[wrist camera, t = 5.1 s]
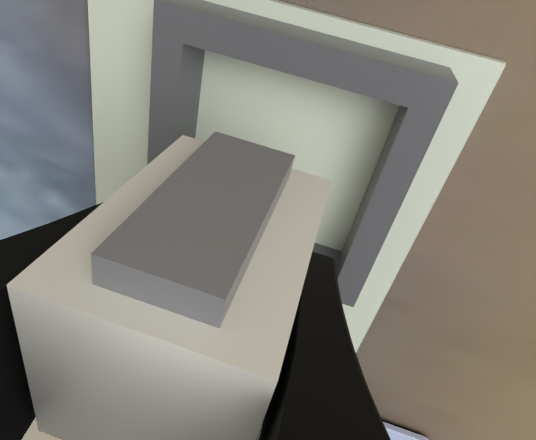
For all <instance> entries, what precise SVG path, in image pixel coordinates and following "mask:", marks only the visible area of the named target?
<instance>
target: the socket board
mask: <svg viewBox="0 0 536 440" xmlns="http://www.w3.org/2000/svg"><path fill="white" fill-rule="evenodd" d="M88 16H89V40H90V64H91V89H92V113H93V137H94V161H95V186H96V205H97V204H100V203H102V202H104V201H106V200H107V199H108V198H109V197H110V196H112V195H113V194H114V193H115V192H116V191H117V190H119V189H120V188H121V187H122V186H123V185H124V184H126V183H127V182H128V181H129V180H130V179H132V178H133V177H134V176H135V175H136V174H137V173H139V172H140V171H141V170H142V169H143V168H144V167H146V166H147V165H148V164H149V163H150V162H152V161H153V160H154V159H155V158H156V157H157V156H159V155H160V154H161V153H162V152H163V151H164V150H166V149H167V148H168V147H169V146H170V145H172V144H173V143H174V142H175V141H176V140H177V139H179V138H180V137H181V136H182V135H185V136H188V137H191V138H195V139H198V140H201V141H204V142H205V141H206V140H207V139H208V138H209V137H210V136H211V135H212V134H213V133H214V132H215V131H216V132H220V133H223V134H226V135H230V136H233V137H236V138H239V139H243V140H246V141H249V142H253V143H256V144H259V145H263V146H266V147H269V148H272V149H276V150H279V151H282V152H286V153H289V154H292V155H295V158H294V161H293V165H292V168H293V169H296V170H299V171H302V172H306V173H309V174H312V175H315V176H319V177H322V178H325V179H329V180H331V183H330V187H329V190H328V194H327V198H326V202H325V205H324V209H323V213H322V217H321V221H320V224H319V228H318V232H317V236H316V239H315V243H314V247H313V252H316V253H319V254H322V255H325V256H328V257H331V258H333V259H334V261H335V262H336V271H337V279H338V286H339V291H340V296H341V301H342V306H343V310H344V314H345V318H346V322H347V325H348V329H349V333H350V336H351V340H352V343H353V346H354V349H355V352H357V350H358V348H359V346H360V344H361V342H362V340H363V338H364V336H365V335H366V333H367V331H368V329H369V327H370V325H371V323H372V321H373V319H374V317H375V315H376V313H377V311H378V310H379V308H380V306H381V304H382V302H383V300H384V298H385V296H386V294H387V292H388V290H389V288H390V287H391V285H392V283H393V281H394V279H395V277H396V275H397V273H398V271H399V269H400V267H401V265H402V264H403V262H404V260H405V258H406V256H407V254H408V252H409V250H410V248H411V246H412V244H413V242H414V240H415V239H416V237H417V235H418V233H419V231H420V229H421V227H422V225H423V223H424V221H425V219H426V217H427V216H428V214H429V212H430V210H431V208H432V206H433V204H434V202H435V200H436V198H437V196H438V194H439V192H440V191H441V189H442V187H443V185H444V183H445V181H446V179H447V177H448V175H449V173H450V171H451V169H452V168H453V166H454V164H455V162H456V160H457V158H458V156H459V154H460V152H461V150H462V148H463V146H464V144H465V143H466V141H467V139H468V137H469V135H470V133H471V131H472V129H473V127H474V125H475V123H476V121H477V120H478V118H479V116H480V114H481V112H482V110H483V108H484V106H485V104H486V102H487V100H488V98H489V97H490V95H491V93H492V91H493V89H494V87H495V85H496V83H497V81H498V79H499V77H500V75H501V73H502V72H503V70H504V68H505V66H506V63H505V62H504V61H502V60H498V59H494V58H491V57H487V56H483V55H480V54H476V53H472V52H468V51H465V50H461V49H457V48H453V47H450V46H446V45H442V44H438V43H435V42H431V41H427V40H423V39H420V38H416V37H412V36H409V35H405V34H401V33H397V32H394V31H390V30H386V29H382V28H379V27H375V26H371V25H367V24H364V23H360V22H356V21H353V20H349V19H345V18H341V17H338V16H334V15H330V14H326V13H323V12H319V11H315V10H311V9H308V8H304V7H300V6H296V5H293V4H289V3H285V2H282V1H278V0H88Z"/></svg>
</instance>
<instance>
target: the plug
mask: <svg viewBox="0 0 536 440" xmlns="http://www.w3.org/2000/svg"><path fill="white" fill-rule="evenodd" d="M294 158H295V155H292V154H289V153H286V152H282V151H279V150H276V149H272V148H269V147H266V146H263V145H259V144H256V143H253V142H249V141H246V140H243V139H239V138H236V137H233V136H230V135H226V134H223V133H220V132H216V131H215V132H214V133H213V134H212V135H211V136H210V137H209V138H208V139H207V140H206V141H205V142H204V141H201V140H198V139H195V138H191V137H188V136H185V135H182V136H181V137H180V138H179V139H177V140H176V141H175V142H174V143H173V144H172V145H170V146H169V147H168V148H167V149H166V150H164V151H163V152H162V153H161V154H160V155H159V156H157V157H156V158H155V159H154V160H153V161H152V162H150V163H149V164H148V165H147V166H146V167H144V168H143V169H142V170H141V171H140V172H139V173H137V174H136V175H135V176H134V177H133V178H132V179H130V180H129V181H128V182H127V183H126V184H124V185H123V186H122V187H121V188H120V189H119V190H117V191H116V192H115V193H114V194H113V195H112V196H110V197H109V198H108V199H107V200H106V201H104V202H103V203H102V204H101V205H100V206H99V207H97V208H96V209H95V210H94V211H93V212H92V213H90V214H89V215H88V216H87V217H86V218H84V219H83V220H82V221H81V222H80V223H79V224H77V225H76V226H75V227H74V228H73V229H72V230H70V231H69V232H68V233H67V234H66V235H64V236H63V237H62V238H61V239H60V240H59V241H57V242H56V243H55V244H54V245H53V246H52V247H50V248H49V249H48V250H47V251H46V252H44V253H43V254H42V255H41V256H40V257H39V258H37V259H36V260H35V261H34V262H33V263H32V264H30V265H29V266H28V267H27V268H26V269H24V270H23V271H22V272H21V273H20V274H19V275H17V276H16V277H15V278H14V279H13V280H12V281H10V282H9V283H8V284H7V290H8V294H9V299H10V303H11V308H12V312H13V317H14V321H15V326H16V330H17V335H18V339H19V344H20V348H21V353H22V357H23V362H24V366H25V371H26V375H27V380H28V384H29V389H30V393H31V398H32V403H33V407H34V412H35V416H36V421H37V425H38V429H39V431H42V432H44V433H47V434H49V435H52V436H55V437H57V438H60V439H62V440H256V438H257V436H258V433H259V430H260V428H261V425H262V422H263V420H264V417H265V414H266V412H267V409H268V406H269V404H270V401H271V398H272V396H273V393H274V390H275V387H276V385H277V382H278V379H279V375H280V371H281V367H282V364H283V360H284V356H285V352H286V349H287V345H288V341H289V337H290V334H291V330H292V326H293V322H294V318H295V315H296V311H297V307H298V303H299V300H300V296H301V292H302V288H303V285H304V281H305V277H306V273H307V269H308V266H309V262H310V258H311V254H312V251H313V247H314V243H315V239H316V236H317V232H318V228H319V224H320V221H321V217H322V213H323V209H324V205H325V202H326V198H327V194H328V190H329V187H330V183H331V180H329V179H325V178H322V177H319V176H315V175H312V174H309V173H306V172H302V171H299V170H296V169H293V168H292V165H293V161H294Z"/></svg>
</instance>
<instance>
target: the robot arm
mask: <svg viewBox="0 0 536 440" xmlns="http://www.w3.org/2000/svg"><path fill="white" fill-rule="evenodd" d="M102 203H103V202H102ZM102 203H100V204H97V205H95V206H92V207H90V208H87V209H85V210H82V211H80V212H77V213H75V214H72V215H69V216H67V217H64V218H62V219H59V220H57V221H54V222H51V223H49V224H46V225H43V226H40V227H37V228H34V229H31V230H28V231H26V232H23V233H20V234H17V235H14V236H11V237H8V238H5V239H2V240H0V440H21V439H22V438H23V436H24V434H25V433H26V431H27V430H28V428H29V426H30V425H31V423H32V422H33V420H34V419H35V417H36V416H35V412H34V407H33V403H32V398H31V393H30V389H29V384H28V380H27V375H26V371H25V366H24V362H23V357H22V353H21V348H20V344H19V339H18V335H17V330H16V326H15V321H14V317H13V312H12V308H11V303H10V299H9V294H8V290H7V284H8V283H9V282H10V281H12V280H13V279H14V278H15V277H16V276H17V275H19V274H20V273H21V272H22V271H23V270H24V269H26V268H27V267H28V266H29V265H30V264H32V263H33V262H34V261H35V260H36V259H37V258H39V257H40V256H41V255H42V254H43V253H44V252H46V251H47V250H48V249H49V248H50V247H52V246H53V245H54V244H55V243H56V242H57V241H59V240H60V239H61V238H62V237H63V236H64V235H66V234H67V233H68V232H69V231H70V230H72V229H73V228H74V227H75V226H76V225H77V224H79V223H80V222H81V221H82V220H83V219H84V218H86V217H87V216H88V215H89V214H90V213H92V212H93V211H94V210H95V209H96V208H97V207H99V206H100V205H101V204H102ZM259 440H429V439H428V438H426V437H425V436H422V435H419V434H417V433H414V432H411V431H408V430H405V429H403V428H400V427H397V426H394V425H391V424H389V423H386V422H383V421H382V419H381V417H380V415H379V413H378V410H377V408H376V406H375V403H374V401H373V398H372V396H371V394H370V391H369V389H368V386H367V384H366V381H365V378H364V376H363V373H362V370H361V367H360V364H359V361H358V358H357V355H356V352H355V349H354V346H353V343H352V340H351V336H350V333H349V329H348V325H347V322H346V318H345V314H344V310H343V306H342V301H341V296H340V291H339V286H338V279H337V271H336V262H335V261H334V259H333V258H331V257H328V256H325V255H322V254H319V253H316V252H313V251H312V254H311V258H310V262H309V266H308V269H307V273H306V277H305V281H304V285H303V288H302V292H301V296H300V300H299V303H298V307H297V311H296V315H295V318H294V322H293V326H292V330H291V334H290V337H289V341H288V345H287V349H286V352H285V356H284V360H283V364H282V367H281V371H280V375H279V379H278V382H277V385H276V387H275V390H274V393H273V396H272V398H271V401H270V404H269V406H268V409H267V412H266V414H265V417H264V420H263V424H262V430H261V434H260V439H259Z"/></svg>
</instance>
